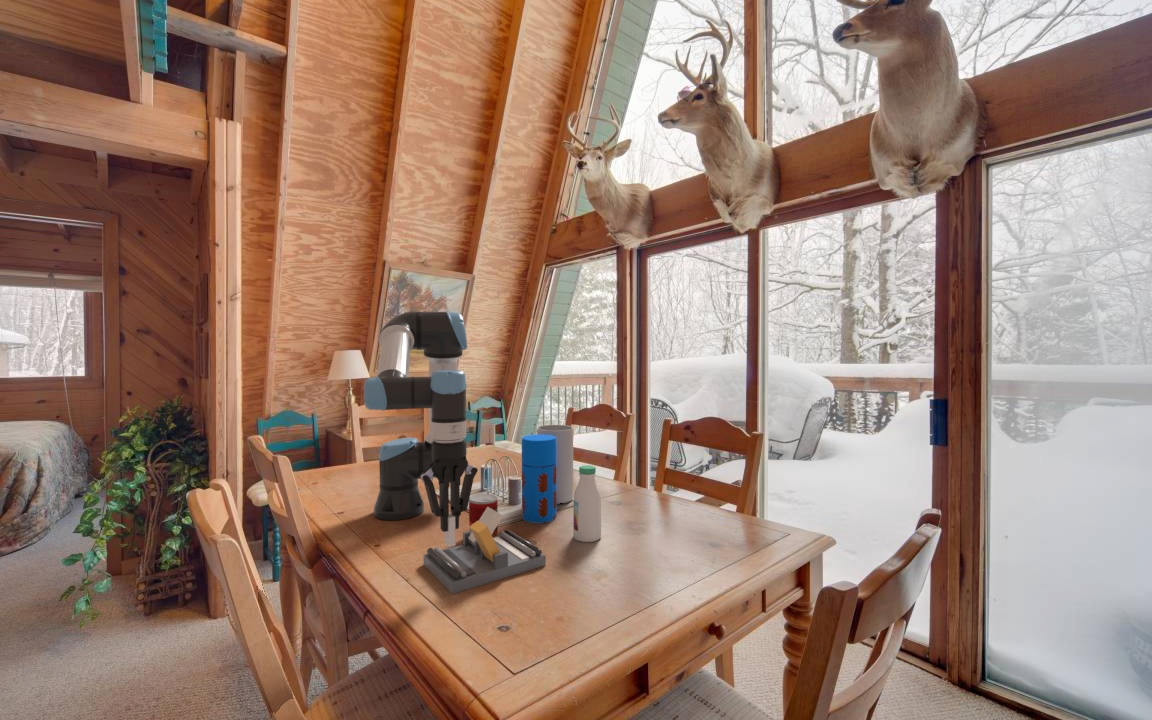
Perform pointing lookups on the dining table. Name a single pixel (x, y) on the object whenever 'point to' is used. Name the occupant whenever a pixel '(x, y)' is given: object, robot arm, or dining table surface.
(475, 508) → the canned food
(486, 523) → the block
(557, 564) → the dining table surface
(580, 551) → the dining table surface
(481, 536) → the block
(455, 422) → the robot arm
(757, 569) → the dining table surface
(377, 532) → the dining table surface
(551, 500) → the thermos
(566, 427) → the cylinder vase
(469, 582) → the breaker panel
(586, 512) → the milk bottle
